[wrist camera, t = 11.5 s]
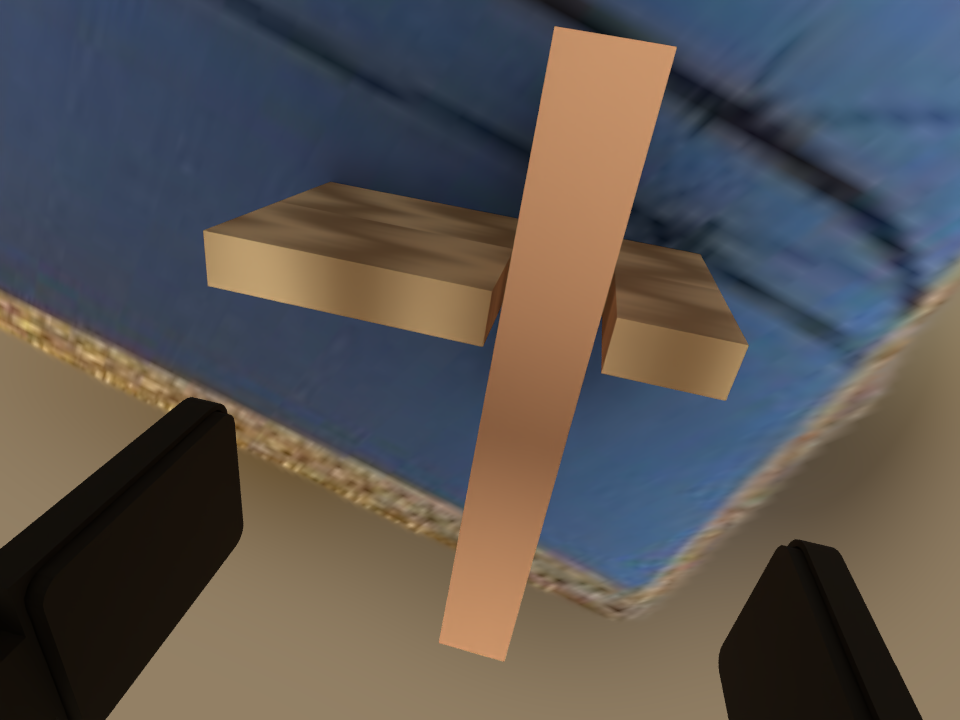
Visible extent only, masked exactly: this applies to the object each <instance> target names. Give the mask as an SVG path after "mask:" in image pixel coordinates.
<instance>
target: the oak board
mask: <svg viewBox="0 0 960 720" xmlns="http://www.w3.org/2000/svg"><path fill="white" fill-rule="evenodd" d="M517 224H518V219H517V218H512V217H507V216H502V215H497V214H492V213H487V212H482V211H476V210H471V209H466V208H461V207H456V206H451V205H446V204H441V203H436V202H430V201H425V200H420V199H415V198H410V197H405V196H400V195H395V194H390V193H384V192H379V191H374V190H369V189H364V188H359V187H354V186H349V185H344V184H338V183H333V182H329V183H326V184H323V185H321V186H318V187H316V188H313V189H310V190H308V191H305V192H302V193H300V194H297V195H295V196H292V197H289V198H287V199H284V200H282V201H279V202H276V203H274V204H271V205H269V206H266V207H263V208H261V209H258V210H256V211H253V212H250V213H248V214H245V215H242V216H240V217H237V218H235V219H232V220H229V221H227V222H224V223H222V224H219V225H216V226H214V227H211V228H209V229H206V230H203V233H204V245H205V256H206V267H207V279H208V286H211V287H215V288H220V289H224V290H229V291H233V292H238V293H242V294H247V295H251V296H256V297H260V298H265V299H269V300H274V301H278V302H283V303H288V304H292V305H297V306H301V307H306V308H310V309H315V310H319V311H324V312H328V313H333V314H337V315H342V316H346V317H351V318H355V319H360V320H364V321H369V322H373V323H378V324H382V325H387V326H391V327H396V328H400V329H405V330H409V331H414V332H418V333H423V334H427V335H432V336H436V337H441V338H445V339H450V340H454V341H459V342H463V343H468V344H472V345H477V346H481V347H483V345H484V343H485V341H486V339H487V336H488V334H489V332H490V330H491V328H492V325H493V323H494V321H495V319H496V317H497V314H498V312H499V310H500V308H501V305H502V303H503V299H504V294H505V288H506V283H507V278H508V272H509V267H510V262H511V256H512V251H513V246H514V240H515V235H516V230H517ZM748 346H749V345H748V343H747V341H746V339H745V337H744V336H743V334H742V332H741V330H740V328H739V326H738V324H737V322H736V321H735V319H734V317H733V315H732V313H731V311H730V309H729V307H728V306H727V304H726V302H725V300H724V298H723V296H722V294H721V292H720V290H719V289H718V287H717V285H716V283H715V281H714V279H713V277H712V275H711V274H710V272H709V270H708V268H707V266H706V264H705V262H704V260H703V258H702V257H701V255H700V254H696V253H691V252H686V251H681V250H676V249H671V248H666V247H661V246H655V245H650V244H645V243H640V242H635V241H630V240H625V239H623V241H622V244H621V248H620V251H619V255H618V259H617V262H616V266H615V269H614V273H613V276H612V280H611V283H610V287H609V291H608V294H607V298H606V301H605V305H604V308H603V312H602V368H601V373H603V374H608V375H612V376H617V377H621V378H626V379H630V380H635V381H639V382H644V383H648V384H653V385H657V386H662V387H666V388H671V389H675V390H680V391H684V392H689V393H693V394H698V395H702V396H707V397H711V398H716V399H720V400H725V401H726V399H727V396H728V394H729V392H730V389H731V387H732V384H733V382H734V380H735V377H736V375H737V372H738V370H739V368H740V365H741V363H742V360H743V358H744V356H745V353H746V351H747V348H748Z"/></svg>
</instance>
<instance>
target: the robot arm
mask: <svg viewBox="0 0 960 720" xmlns="http://www.w3.org/2000/svg"><path fill="white" fill-rule="evenodd" d="M238 468H239V467H238V456H237V444H236V432H235V422H234V418H233V416H232V415H229V414H228V413H227V409H226V408H225V406H224V405H222V404H219V403H215V402H211V401H206V400H202V399H198V398H194V397H190V398H187V399H185V400H183V401H182V402H181V403H179V404H178V405H177V406H176V407H175V408H173V409H172V410H171V411H170V412H168V413H167V414H166V415H165V416H163V417H162V418H161V419H160V420H159V421H158V422H156V423H155V424H154V425H152V426H151V427H150V428H149V429H148V430H146V431H145V432H144V433H143V434H141V435H140V436H139V437H138V438H136V439H135V440H134V441H133V442H131V443H130V444H129V445H128V446H127V447H125V448H124V449H123V450H122V451H120V452H119V453H118V454H117V455H116V456H114V457H113V458H112V459H111V460H109V461H108V462H107V463H106V464H104V465H103V466H102V467H101V468H99V469H98V470H97V471H96V472H94V473H93V474H92V475H91V476H90V477H88V478H87V479H86V480H85V481H83V482H82V483H81V484H80V485H78V486H77V487H76V488H75V489H74V490H72V491H71V492H70V493H69V494H67V495H66V496H65V497H64V498H63V499H61V500H60V501H59V502H58V503H56V504H55V505H54V506H53V507H51V508H50V509H49V510H48V511H46V512H45V513H44V514H43V515H42V516H40V517H39V518H38V519H37V520H35V521H34V522H33V523H32V524H30V525H29V526H28V527H27V528H26V529H24V530H23V531H22V532H21V533H20V534H18V535H17V536H16V537H14V538H13V539H12V540H11V541H10V542H8V543H7V544H6V545H5V546H3V547H2V548H1V549H0V720H105V719H106V718H107V717H108V716H109V714H110V713H111V712H112V710H113V709H114V708H115V706H116V705H117V704H118V702H119V701H120V700H121V698H122V697H123V696H124V694H125V693H126V692H127V690H128V689H129V688H130V686H131V685H132V684H133V682H134V681H135V680H136V678H137V677H138V676H139V674H140V673H141V672H142V670H143V669H144V668H145V666H146V665H147V664H148V662H149V661H150V660H151V658H152V657H153V656H154V654H155V653H156V652H157V650H158V649H159V647H160V646H161V645H162V644H163V642H164V641H165V640H166V638H167V637H168V636H169V634H170V633H171V632H172V630H173V629H174V628H175V626H176V625H177V624H178V622H179V621H180V620H181V618H182V617H183V616H184V614H185V613H186V612H187V610H188V609H189V608H190V607H191V605H192V604H193V603H194V601H195V600H196V599H197V597H198V596H199V594H200V593H201V592H202V590H203V589H204V588H205V586H206V585H207V584H208V583H209V581H210V580H211V578H212V577H213V576H214V575H215V573H216V572H217V570H218V569H219V568H220V566H221V565H222V564H223V562H224V561H225V560H226V559H227V557H228V556H229V554H230V553H231V552H232V551H233V549H234V548H235V547H236V545H237V543H238V542H239V540H240V537H241V534H242V531H243V514H242V503H241V491H240V479H239V469H238ZM719 673H720V678H721V683H722V688H723V693H724V698H725V703H726V708H727V713H728V718H729V720H923V719H922V717H921V715H920V713H919V711H918V709H917V707H916V705H915V703H914V701H913V699H912V697H911V695H910V693H909V691H908V689H907V687H906V685H905V683H904V681H903V679H902V677H901V675H900V673H899V670H898V668H897V666H896V665H895V663H894V661H893V659H892V657H891V655H890V653H889V651H888V649H887V647H886V645H885V643H884V641H883V639H882V637H881V635H880V633H879V631H878V629H877V627H876V624H875V622H874V620H873V618H872V616H871V614H870V612H869V610H868V608H867V606H866V604H865V602H864V600H863V598H862V596H861V594H860V592H859V590H858V588H857V586H856V584H855V582H854V580H853V578H852V576H851V574H850V572H849V570H848V568H847V566H846V564H845V562H844V560H843V558H842V556H841V554H840V553H839V552H838V550H836V549H835V548H832V547H828V546H824V545H820V544H816V543H811V542H807V541H802V540H796V539H795V540H793V541H792V542H790V543H789V545H788V546H783V545H781V546H779V547H778V548H777V549H776V551H775V553H774V554H773V556H772V558H771V559H770V561H769V563H768V565H767V567H766V569H765V570H764V572H763V574H762V576H761V577H760V579H759V581H758V583H757V585H756V586H755V588H754V590H753V592H752V594H751V595H750V597H749V599H748V601H747V602H746V604H745V606H744V608H743V609H742V611H741V613H740V615H739V616H738V618H737V620H736V622H735V624H734V625H733V627H732V629H731V631H730V632H729V634H728V636H727V638H726V640H725V641H724V643H723V645H722V647H721V649H720V653H719Z"/></svg>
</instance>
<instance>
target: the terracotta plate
mask: <svg viewBox="0 0 960 720" xmlns="http://www.w3.org/2000/svg"><path fill="white" fill-rule="evenodd" d="M676 48H677V47H674V46H668V45H662V44H656V43H651V42H645V41H639V40H633V39H627V38H621V37H615V36H609V35H603V34H597V33H591V32H585V31H579V30H574V29H568V28H562V27H556V26H555V27H554V33H553V38H552V43H551V49H550V54H549V59H548V65H547V70H546V75H545V81H544V86H543V91H542V97H541V102H540V107H539V113H538V118H537V123H536V128H535V134H534V139H533V144H532V150H531V155H530V160H529V166H528V171H527V176H526V182H525V187H524V192H523V198H522V203H521V208H520V214H519V219H518V224H517V230H516V235H515V240H514V246H513V251H512V256H511V262H510V267H509V272H508V278H507V283H506V288H505V294H504V299H503V304H502V310H501V315H500V320H499V325H498V331H497V336H496V341H495V347H494V352H493V357H492V363H491V368H490V373H489V379H488V384H487V389H486V395H485V400H484V405H483V411H482V416H481V421H480V427H479V432H478V437H477V443H476V448H475V453H474V459H473V464H472V469H471V475H470V480H469V485H468V491H467V496H466V501H465V507H464V512H463V517H462V522H461V528H460V533H459V538H458V544H457V549H456V554H455V560H454V565H453V570H452V576H451V581H450V587H449V592H448V598H447V602H446V608H445V613H444V618H443V624H442V629H441V634H440V640H439V643H441V644H444V645H448V646H451V647H455V648H458V649H462V650H465V651H469V652H472V653H475V654H479V655H482V656H486V657H489V658H493V659H496V660H500V661H503V662H504V661H505V657H506V654H507V650H508V647H509V643H510V639H511V636H512V632H513V629H514V625H515V622H516V618H517V615H518V611H519V607H520V604H521V600H522V597H523V593H524V590H525V586H526V583H527V579H528V576H529V572H530V568H531V565H532V561H533V558H534V554H535V551H536V547H537V543H538V540H539V536H540V533H541V529H542V526H543V522H544V519H545V515H546V511H547V508H548V504H549V501H550V497H551V494H552V490H553V486H554V483H555V479H556V476H557V472H558V469H559V465H560V462H561V458H562V454H563V451H564V447H565V444H566V440H567V437H568V433H569V430H570V426H571V422H572V419H573V415H574V412H575V408H576V405H577V401H578V397H579V394H580V390H581V387H582V383H583V380H584V376H585V373H586V369H587V365H588V362H589V358H590V355H591V351H592V348H593V344H594V340H595V337H596V333H597V330H598V326H599V323H600V319H601V316H602V312H603V308H604V305H605V301H606V298H607V294H608V291H609V287H610V283H611V280H612V276H613V273H614V269H615V266H616V262H617V259H618V255H619V251H620V248H621V244H622V241H623V237H624V234H625V230H626V226H627V223H628V219H629V216H630V212H631V209H632V205H633V202H634V198H635V194H636V191H637V187H638V184H639V180H640V177H641V173H642V170H643V166H644V162H645V159H646V155H647V152H648V148H649V145H650V141H651V137H652V134H653V130H654V127H655V123H656V120H657V116H658V113H659V109H660V105H661V102H662V98H663V95H664V91H665V88H666V84H667V80H668V77H669V73H670V70H671V66H672V63H673V59H674V56H675V52H676Z"/></svg>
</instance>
